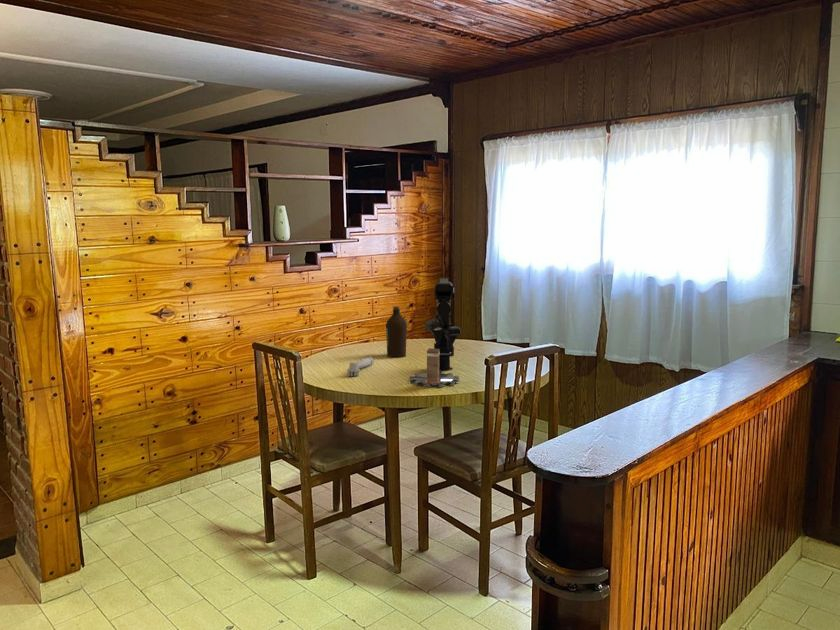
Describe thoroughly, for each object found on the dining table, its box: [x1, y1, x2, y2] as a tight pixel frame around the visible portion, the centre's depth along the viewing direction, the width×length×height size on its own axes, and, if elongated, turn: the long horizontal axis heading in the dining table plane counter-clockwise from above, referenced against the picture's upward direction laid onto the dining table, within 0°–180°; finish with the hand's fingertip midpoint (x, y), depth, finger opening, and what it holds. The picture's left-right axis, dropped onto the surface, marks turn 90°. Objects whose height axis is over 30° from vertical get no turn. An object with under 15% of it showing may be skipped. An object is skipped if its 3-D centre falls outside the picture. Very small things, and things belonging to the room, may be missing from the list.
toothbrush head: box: [346, 356, 374, 377], centre depth 282 cm, size 5×7×25 cm
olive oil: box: [385, 305, 408, 359], centre depth 311 cm, size 11×11×25 cm
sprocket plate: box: [408, 371, 460, 389], centre depth 264 cm, size 21×21×2 cm
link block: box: [426, 347, 440, 382], centre depth 258 cm, size 5×5×13 cm
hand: (443, 347), depth 269 cm, fingers open, 9 cm apart
